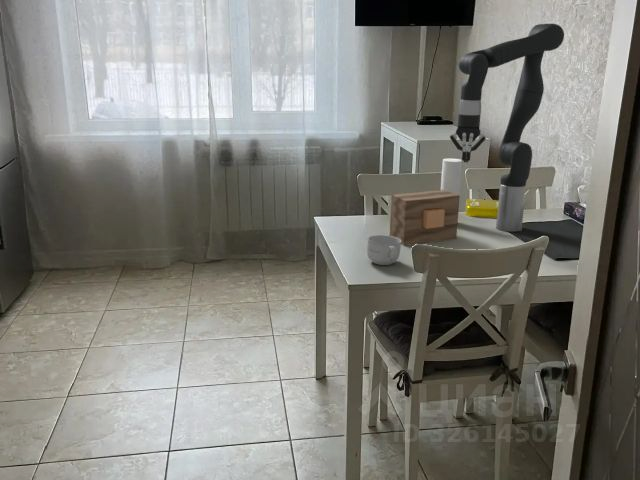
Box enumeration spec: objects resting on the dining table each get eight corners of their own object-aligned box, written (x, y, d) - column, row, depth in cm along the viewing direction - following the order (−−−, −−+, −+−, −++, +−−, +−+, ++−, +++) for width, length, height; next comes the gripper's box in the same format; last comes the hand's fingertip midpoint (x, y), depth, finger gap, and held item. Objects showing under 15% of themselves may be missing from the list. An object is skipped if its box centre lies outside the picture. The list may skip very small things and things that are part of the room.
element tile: (503, 219, 254) (504, 208, 252) (465, 217, 257) (466, 205, 255) (501, 210, 268) (502, 199, 266) (465, 208, 271) (466, 197, 269)
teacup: (364, 257, 206) (365, 233, 204) (396, 256, 207) (397, 233, 205) (371, 271, 193) (372, 247, 191) (405, 271, 194) (407, 246, 192)
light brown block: (443, 226, 220) (444, 210, 218) (426, 228, 217) (427, 211, 216) (431, 220, 227) (432, 204, 225) (414, 222, 224) (415, 206, 223)
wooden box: (456, 238, 227) (459, 195, 222) (403, 245, 218) (405, 201, 214) (440, 231, 235) (443, 189, 231) (389, 237, 227) (391, 194, 222)
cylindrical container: (443, 219, 251) (447, 157, 244) (459, 222, 247) (464, 159, 240) (435, 223, 246) (439, 160, 238) (452, 226, 242) (457, 162, 234)
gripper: (488, 112, 221) (484, 161, 226) (450, 111, 224) (447, 159, 229) (489, 114, 214) (484, 164, 219) (450, 113, 217) (446, 162, 222)
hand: (465, 161), depth 224 cm, fingers closed
